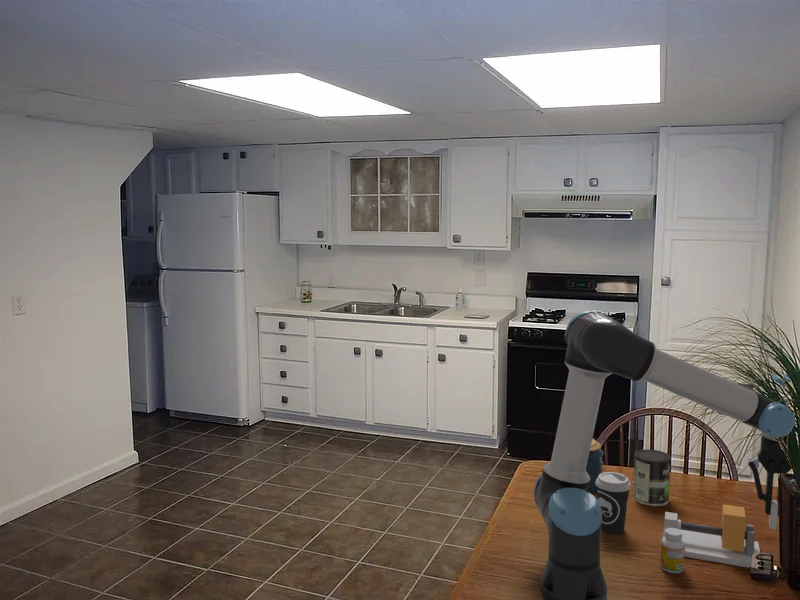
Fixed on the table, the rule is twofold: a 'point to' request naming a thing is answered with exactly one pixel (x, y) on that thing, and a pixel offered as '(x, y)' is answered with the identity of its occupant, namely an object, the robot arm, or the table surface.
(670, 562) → the supplement bottle
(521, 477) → the table surface
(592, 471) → the canister
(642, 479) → the coffee can
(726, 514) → the orange rectangular block
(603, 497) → the coffee cup
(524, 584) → the table surface
